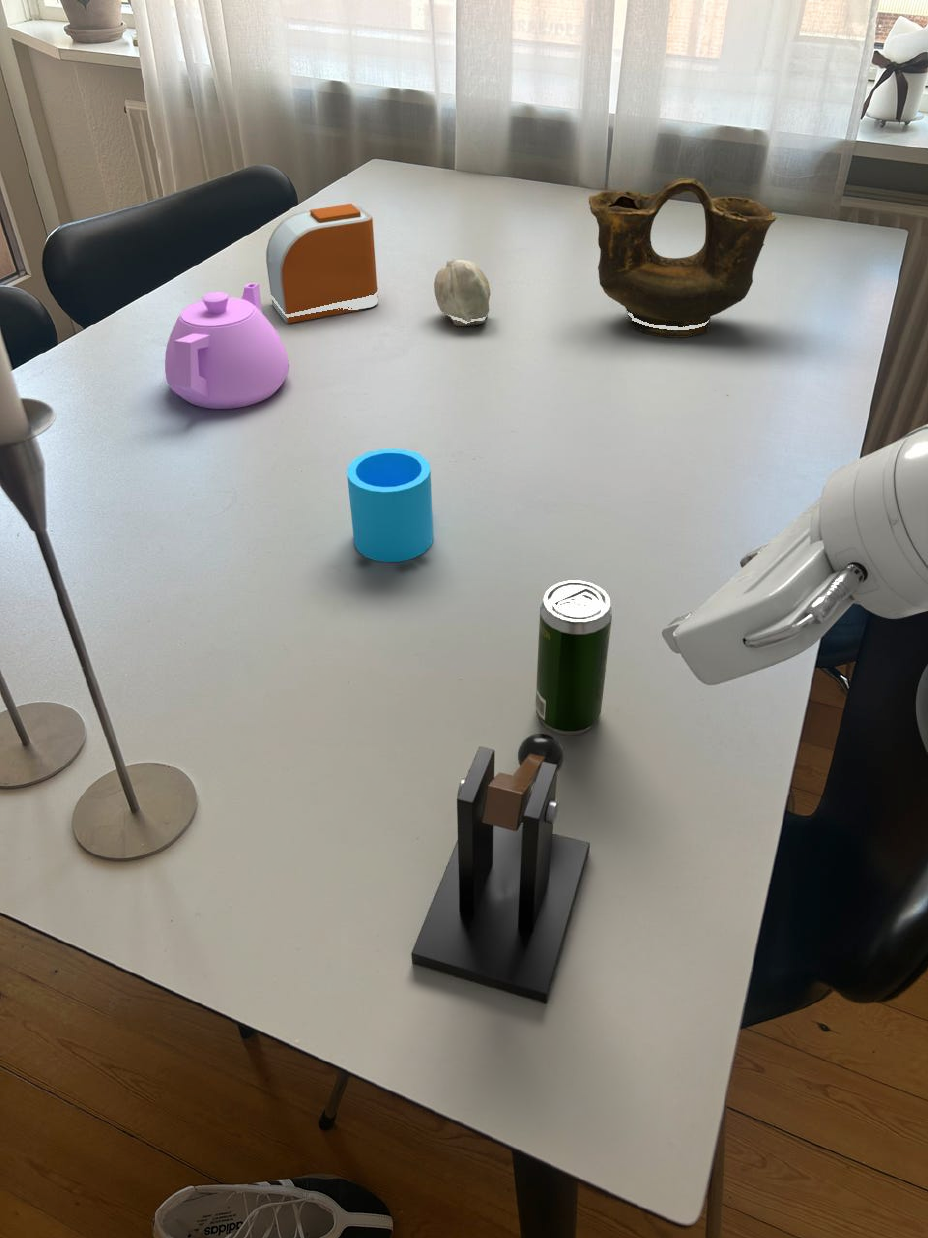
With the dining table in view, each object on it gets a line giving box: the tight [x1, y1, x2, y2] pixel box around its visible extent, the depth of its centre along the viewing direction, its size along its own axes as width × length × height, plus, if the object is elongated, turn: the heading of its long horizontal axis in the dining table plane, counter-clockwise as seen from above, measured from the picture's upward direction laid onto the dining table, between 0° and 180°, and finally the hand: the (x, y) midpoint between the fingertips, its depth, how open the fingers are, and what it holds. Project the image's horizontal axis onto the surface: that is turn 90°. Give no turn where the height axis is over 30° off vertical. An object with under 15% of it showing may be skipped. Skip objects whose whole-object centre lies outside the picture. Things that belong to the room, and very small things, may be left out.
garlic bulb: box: [433, 258, 491, 327], centre depth 138 cm, size 9×8×10 cm
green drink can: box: [534, 580, 613, 736], centre depth 76 cm, size 5×5×12 cm
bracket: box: [410, 746, 591, 1005], centre depth 61 cm, size 12×9×13 cm
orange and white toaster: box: [265, 203, 378, 325], centre depth 142 cm, size 15×8×14 cm, turn 115°
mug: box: [346, 447, 434, 563], centre depth 98 cm, size 12×8×8 cm
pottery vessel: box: [588, 177, 778, 338], centre depth 133 cm, size 25×11×20 cm, turn 80°
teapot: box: [164, 282, 290, 410], centre depth 122 cm, size 22×16×12 cm
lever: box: [482, 732, 564, 831], centre depth 63 cm, size 13×3×3 cm
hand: (712, 600), depth 62 cm, fingers open, 8 cm apart
